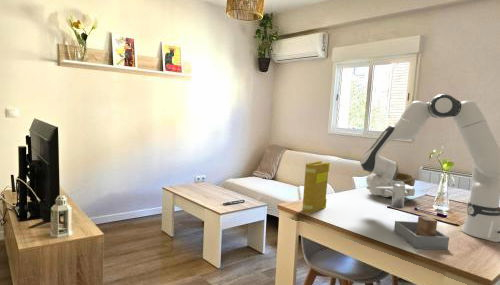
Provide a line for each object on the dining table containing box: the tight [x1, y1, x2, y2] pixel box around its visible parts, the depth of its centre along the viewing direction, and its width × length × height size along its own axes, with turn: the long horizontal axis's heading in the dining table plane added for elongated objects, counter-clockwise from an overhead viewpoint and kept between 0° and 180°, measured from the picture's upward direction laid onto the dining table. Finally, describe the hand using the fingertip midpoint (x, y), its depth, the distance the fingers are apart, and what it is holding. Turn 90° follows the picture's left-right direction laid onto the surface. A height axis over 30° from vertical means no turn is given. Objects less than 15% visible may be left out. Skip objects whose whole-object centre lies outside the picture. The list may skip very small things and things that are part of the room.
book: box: [301, 160, 331, 214], centre depth 175 cm, size 17×7×25 cm, turn 141°
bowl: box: [369, 171, 416, 199], centre depth 213 cm, size 28×27×15 cm
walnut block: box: [416, 215, 438, 236], centre depth 137 cm, size 5×5×10 cm
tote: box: [393, 220, 450, 250], centre depth 141 cm, size 14×18×5 cm
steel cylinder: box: [391, 184, 406, 210], centre depth 149 cm, size 5×5×10 cm
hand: (399, 194), depth 148 cm, fingers closed on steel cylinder, 5 cm apart
